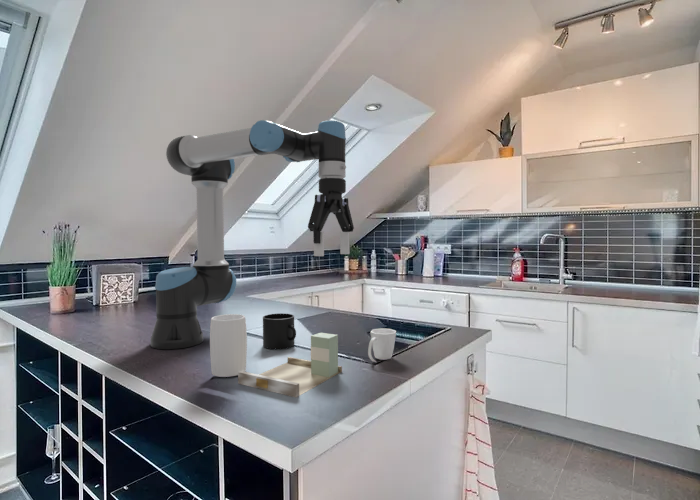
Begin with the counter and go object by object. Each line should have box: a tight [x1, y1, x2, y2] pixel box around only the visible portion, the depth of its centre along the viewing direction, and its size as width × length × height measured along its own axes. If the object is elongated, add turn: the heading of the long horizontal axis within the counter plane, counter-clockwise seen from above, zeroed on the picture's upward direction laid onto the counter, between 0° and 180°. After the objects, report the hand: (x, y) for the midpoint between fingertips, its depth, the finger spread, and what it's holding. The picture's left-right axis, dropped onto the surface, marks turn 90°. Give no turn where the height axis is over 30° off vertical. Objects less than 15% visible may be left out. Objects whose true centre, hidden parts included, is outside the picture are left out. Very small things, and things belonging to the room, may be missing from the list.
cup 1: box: [209, 313, 248, 378], centre depth 97 cm, size 8×8×14 cm
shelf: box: [237, 356, 343, 398], centre depth 94 cm, size 16×18×3 cm
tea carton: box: [310, 332, 339, 377], centre depth 96 cm, size 5×4×9 cm
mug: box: [262, 313, 297, 350], centre depth 123 cm, size 9×12×9 cm
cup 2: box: [367, 327, 397, 363], centre depth 107 cm, size 7×10×8 cm
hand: (332, 255), depth 114 cm, fingers open, 13 cm apart
